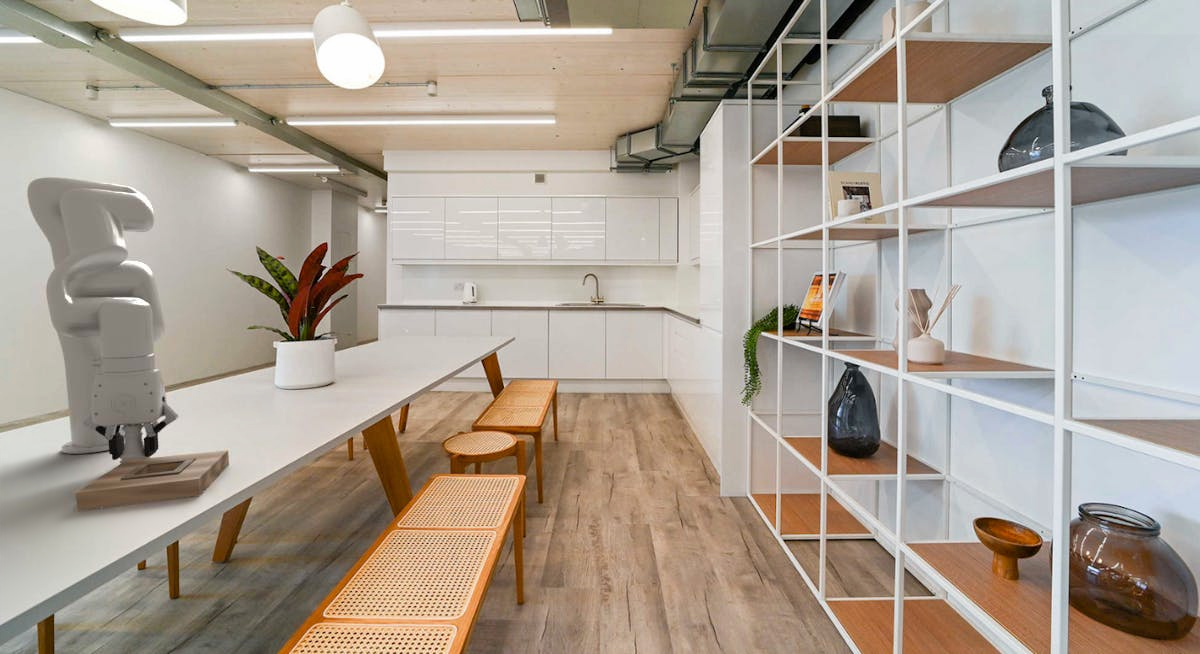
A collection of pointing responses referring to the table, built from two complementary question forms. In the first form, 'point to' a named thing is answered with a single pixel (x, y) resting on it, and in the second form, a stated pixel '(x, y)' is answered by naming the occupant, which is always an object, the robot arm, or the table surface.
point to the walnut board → (153, 480)
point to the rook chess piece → (133, 443)
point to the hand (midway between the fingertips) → (134, 455)
